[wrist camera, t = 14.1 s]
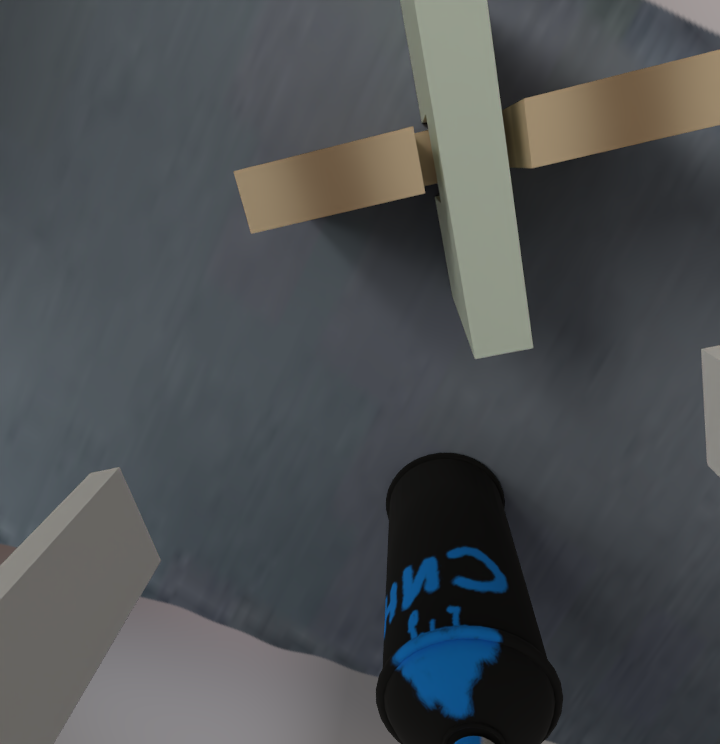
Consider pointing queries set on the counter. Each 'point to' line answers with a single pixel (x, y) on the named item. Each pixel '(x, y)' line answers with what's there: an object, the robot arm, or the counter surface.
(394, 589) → the aerosol can
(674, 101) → the oak slotted board
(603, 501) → the counter surface
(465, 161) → the sage slotted plate
